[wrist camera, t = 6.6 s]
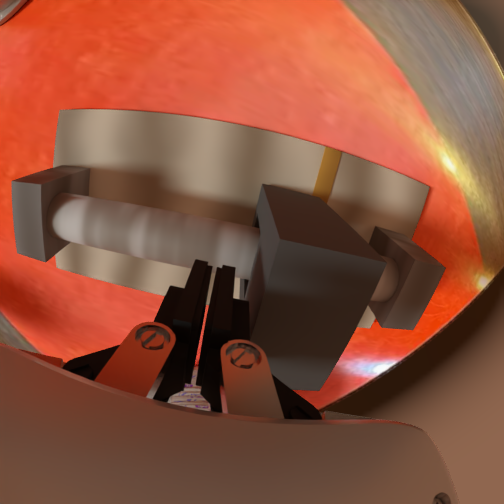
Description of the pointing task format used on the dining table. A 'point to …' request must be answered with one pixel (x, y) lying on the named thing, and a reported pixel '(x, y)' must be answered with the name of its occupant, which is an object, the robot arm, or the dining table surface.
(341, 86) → the dining table surface
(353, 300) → the collar
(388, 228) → the pipe rig
